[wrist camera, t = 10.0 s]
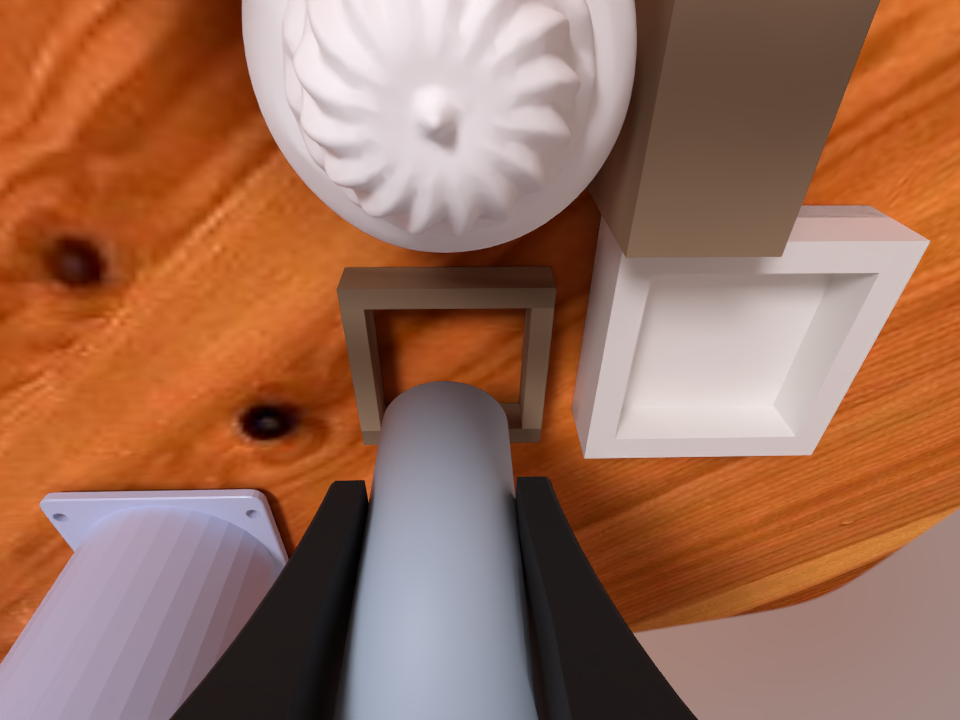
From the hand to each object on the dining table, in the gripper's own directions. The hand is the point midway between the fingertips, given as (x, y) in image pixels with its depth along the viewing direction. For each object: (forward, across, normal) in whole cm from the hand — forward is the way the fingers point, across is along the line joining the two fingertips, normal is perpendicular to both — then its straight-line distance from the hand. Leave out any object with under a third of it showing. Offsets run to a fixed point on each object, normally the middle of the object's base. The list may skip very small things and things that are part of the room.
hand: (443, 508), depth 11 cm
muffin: (+6, 0, -8) cm, 10 cm away
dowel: (+2, 0, 0) cm, 2 cm away
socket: (+6, 0, 0) cm, 6 cm away
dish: (+6, -8, -1) cm, 10 cm away
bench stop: (+6, -5, -8) cm, 11 cm away
